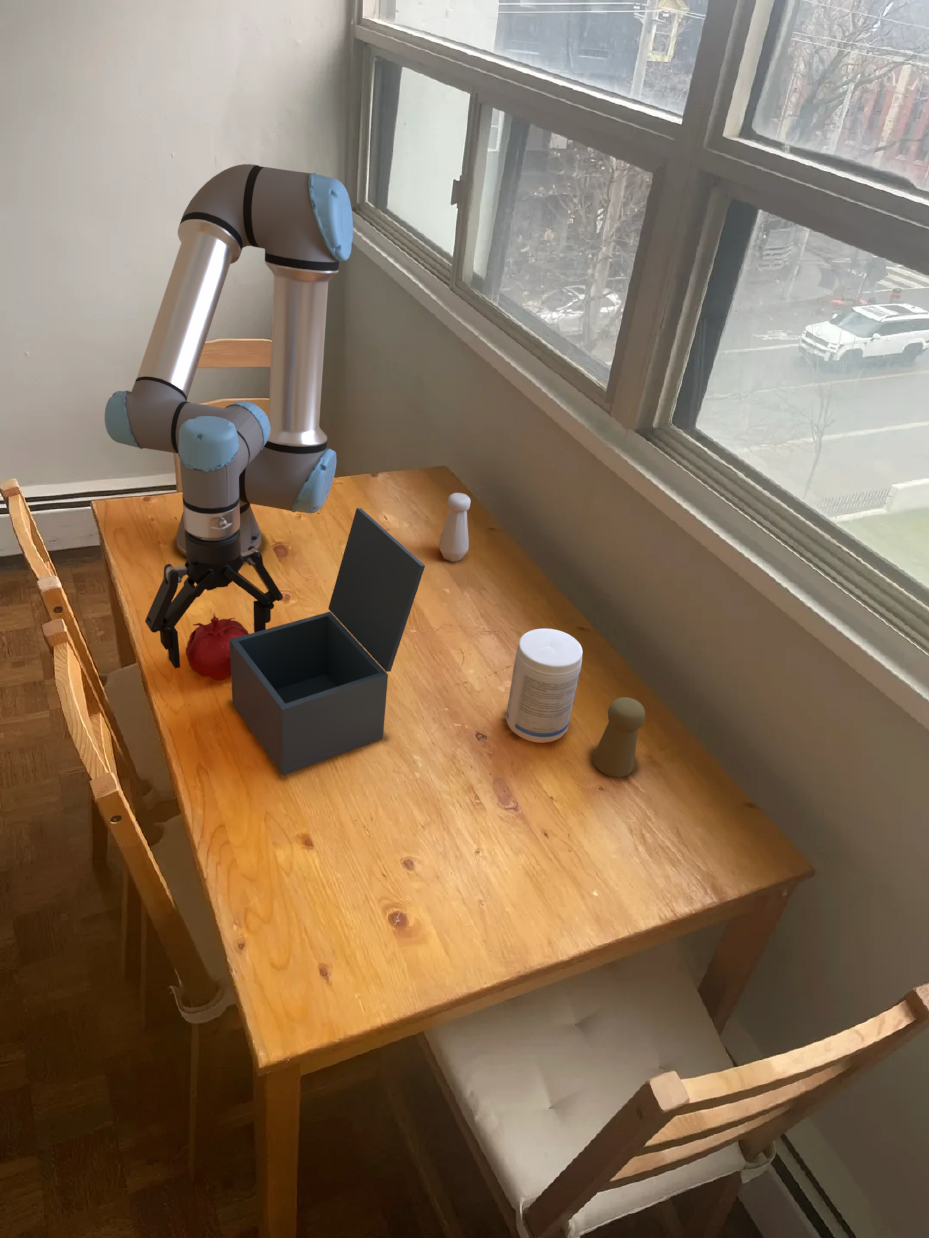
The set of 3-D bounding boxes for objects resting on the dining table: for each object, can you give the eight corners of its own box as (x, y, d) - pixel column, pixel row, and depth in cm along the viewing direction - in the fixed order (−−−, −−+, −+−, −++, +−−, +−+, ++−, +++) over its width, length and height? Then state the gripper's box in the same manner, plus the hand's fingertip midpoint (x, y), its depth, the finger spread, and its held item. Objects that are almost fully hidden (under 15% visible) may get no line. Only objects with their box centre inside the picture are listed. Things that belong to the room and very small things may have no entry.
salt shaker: (471, 562, 173) (480, 502, 166) (444, 565, 171) (451, 505, 164) (460, 547, 178) (468, 487, 170) (433, 549, 176) (439, 490, 168)
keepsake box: (282, 776, 122) (282, 709, 116) (232, 704, 133) (229, 639, 126) (383, 738, 131) (388, 674, 124) (328, 673, 141) (330, 611, 134)
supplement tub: (579, 733, 136) (598, 656, 128) (530, 753, 131) (546, 675, 123) (540, 696, 142) (556, 620, 134) (492, 714, 138) (505, 636, 129)
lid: (420, 565, 116) (425, 565, 117) (356, 507, 127) (361, 508, 127) (385, 672, 123) (390, 671, 124) (327, 608, 134) (332, 608, 134)
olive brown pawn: (585, 751, 133) (600, 694, 127) (621, 744, 135) (637, 688, 129) (604, 780, 129) (620, 722, 122) (641, 772, 131) (658, 715, 124)
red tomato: (266, 664, 141) (265, 616, 136) (218, 695, 134) (215, 645, 129) (221, 638, 145) (219, 590, 140) (172, 667, 138) (168, 618, 133)
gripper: (131, 560, 117) (145, 688, 129) (305, 524, 130) (303, 643, 142) (112, 534, 122) (127, 659, 133) (282, 501, 135) (282, 618, 147)
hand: (218, 651), depth 138 cm, fingers open, 13 cm apart
